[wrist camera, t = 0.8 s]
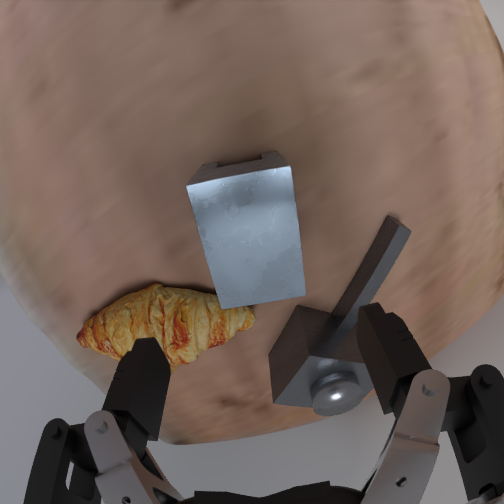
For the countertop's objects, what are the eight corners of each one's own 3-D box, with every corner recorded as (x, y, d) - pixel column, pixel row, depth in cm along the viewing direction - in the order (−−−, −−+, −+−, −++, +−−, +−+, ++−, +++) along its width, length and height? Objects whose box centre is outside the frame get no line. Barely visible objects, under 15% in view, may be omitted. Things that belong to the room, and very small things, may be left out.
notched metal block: (202, 164, 22) (186, 185, 16) (276, 150, 22) (290, 166, 15) (226, 260, 26) (221, 309, 20) (291, 249, 26) (305, 295, 19)
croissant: (247, 263, 30) (239, 267, 22) (266, 351, 30) (266, 382, 22) (86, 296, 31) (46, 306, 23) (107, 370, 31) (74, 393, 23)
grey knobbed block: (351, 198, 23) (400, 244, 15) (426, 234, 25) (477, 281, 17) (268, 355, 32) (274, 419, 24) (338, 366, 34) (355, 423, 26)
